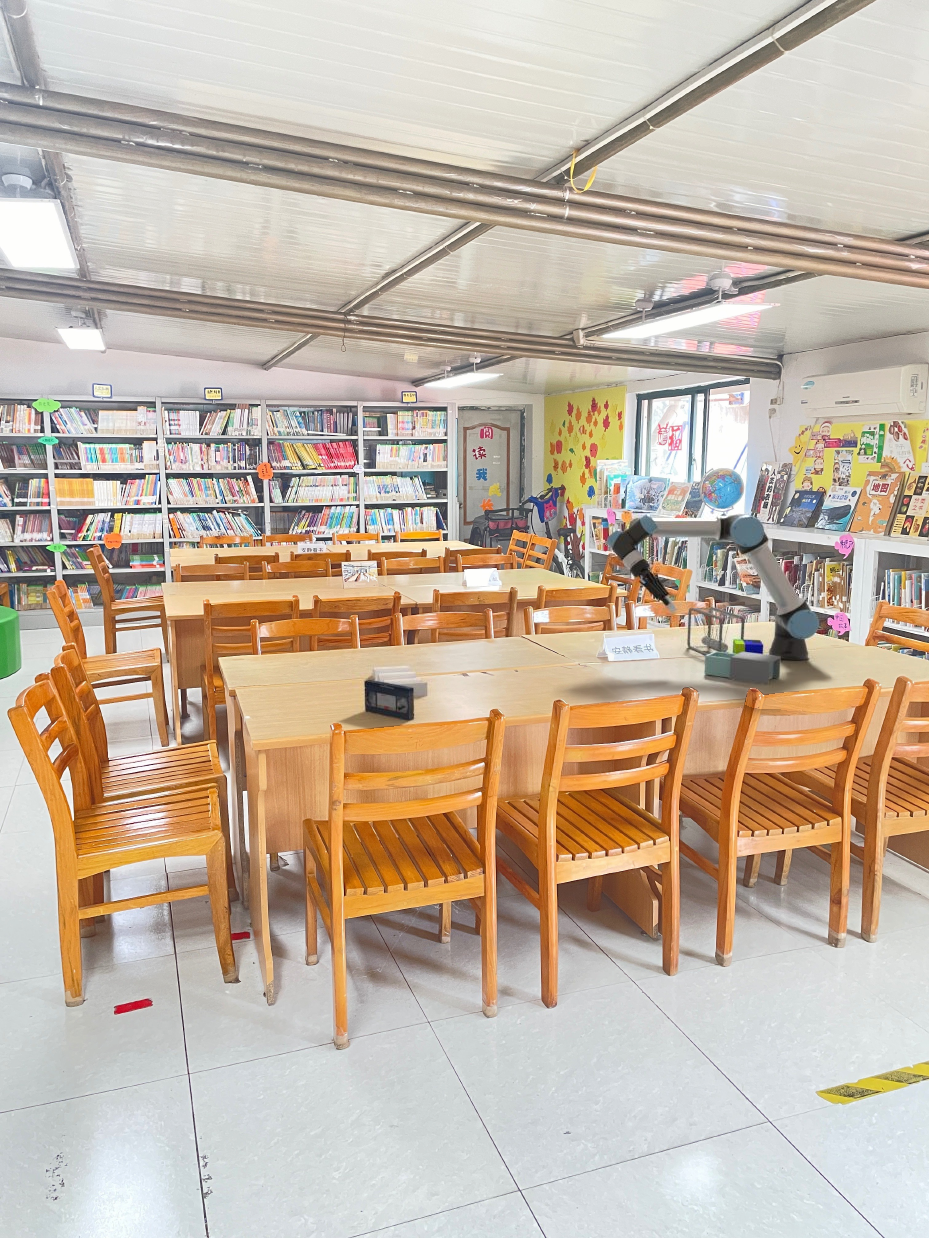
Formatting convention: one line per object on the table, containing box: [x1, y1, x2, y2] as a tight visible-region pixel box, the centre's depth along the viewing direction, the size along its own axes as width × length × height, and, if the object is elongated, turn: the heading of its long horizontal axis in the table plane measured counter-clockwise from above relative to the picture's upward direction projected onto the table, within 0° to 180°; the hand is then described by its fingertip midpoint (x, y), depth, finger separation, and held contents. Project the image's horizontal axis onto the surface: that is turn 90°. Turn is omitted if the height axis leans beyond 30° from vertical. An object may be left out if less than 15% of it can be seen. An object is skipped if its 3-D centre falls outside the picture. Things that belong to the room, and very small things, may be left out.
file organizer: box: [371, 665, 428, 698], centre depth 310 cm, size 13×35×5 cm, turn 15°
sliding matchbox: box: [704, 650, 774, 680], centre depth 323 cm, size 22×10×7 cm, turn 53°
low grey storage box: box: [729, 652, 782, 686], centre depth 319 cm, size 14×12×8 cm
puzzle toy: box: [732, 638, 764, 654], centre depth 338 cm, size 10×10×10 cm
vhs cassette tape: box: [363, 679, 415, 721], centre depth 270 cm, size 18×3×10 cm, turn 52°
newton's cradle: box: [686, 606, 745, 656], centre depth 363 cm, size 30×10×18 cm, turn 10°
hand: (674, 610), depth 335 cm, fingers closed
